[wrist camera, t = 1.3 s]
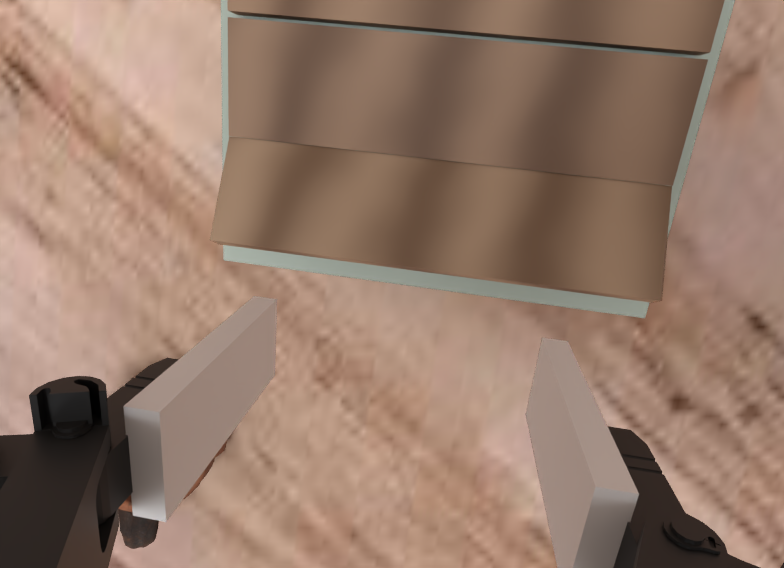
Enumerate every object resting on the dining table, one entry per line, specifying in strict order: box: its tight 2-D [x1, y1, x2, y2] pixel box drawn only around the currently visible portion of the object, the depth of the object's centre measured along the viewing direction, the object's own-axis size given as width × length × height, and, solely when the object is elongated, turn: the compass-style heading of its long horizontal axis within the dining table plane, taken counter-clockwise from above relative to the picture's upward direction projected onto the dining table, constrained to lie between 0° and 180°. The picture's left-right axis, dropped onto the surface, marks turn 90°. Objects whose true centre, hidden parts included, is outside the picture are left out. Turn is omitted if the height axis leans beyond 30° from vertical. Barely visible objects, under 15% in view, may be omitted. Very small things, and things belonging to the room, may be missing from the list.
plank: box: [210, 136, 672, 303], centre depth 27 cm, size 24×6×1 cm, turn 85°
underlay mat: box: [221, 0, 735, 318], centre depth 28 cm, size 26×20×1 cm
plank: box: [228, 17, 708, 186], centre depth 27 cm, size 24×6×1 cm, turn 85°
